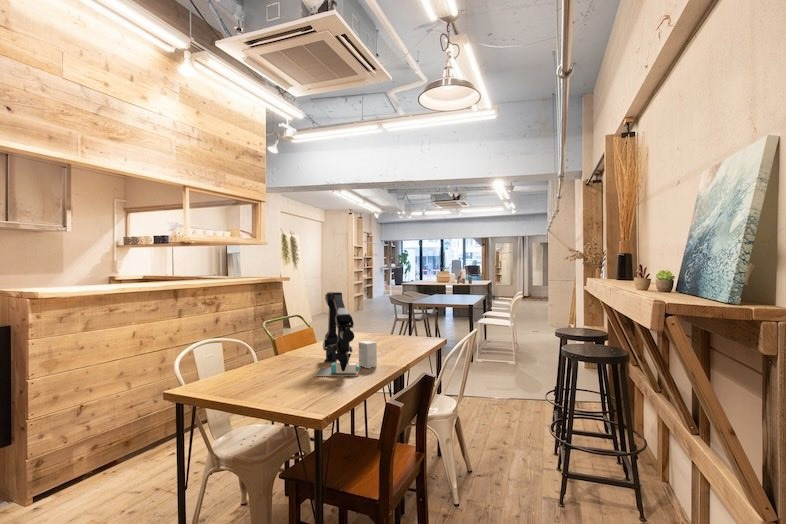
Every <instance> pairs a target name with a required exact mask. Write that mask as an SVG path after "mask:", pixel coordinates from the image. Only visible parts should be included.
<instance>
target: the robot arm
mask: <svg viewBox="0 0 786 524" xmlns="http://www.w3.org/2000/svg"><path fill="white" fill-rule="evenodd" d="M324 296H325V297H324V299H325V300H324V301H325V302H326V305H327V306H328V321H327V322H328V323H327V325H328V326H327V327H328V328H327V332H326V334H325V335H324V339H323V343H322V350H323V351H325V359H324V362H337V361H338V363H340V365H341V369H342V371H345V368H346V365H347V363H349V361H350V359H351V356H352V353H353V346H351V345H350V343H351V342H352V341H353V340H354V339H355V333H354V332H353V330H351V329H353V328H354V325H355V324H354V320H353V317H352V315H351V314H350V311H349V310H348V309H346V307H345V306H346V305H345V304H344V300H343V293H342V291H328V292H327V293H325V295H324ZM349 352H350V353H349ZM336 360H337V361H336Z"/></svg>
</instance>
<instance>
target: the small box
mask: <svg viewBox="0 0 786 524" xmlns="http://www.w3.org/2000/svg"><path fill="white" fill-rule="evenodd" d="M377 350H378V348H377V342H375V341H371V340H364V341H358V366H362V367H361V368H363V367H365V368H364V369H366V368H369V369H372V368H371V367H374V368H376V367H375V366H377V367H378V362H377V361H378V360H377V357H378V355H377V354H378V353H377Z"/></svg>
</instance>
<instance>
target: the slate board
mask: <svg viewBox="0 0 786 524" xmlns="http://www.w3.org/2000/svg"><path fill="white" fill-rule="evenodd" d="M360 372H361V369H360V370H356V373H331V366H330V367H323V366H322V367H321V366H320V367H319V368H318V369H317V371H316V372H315V373H314V375H313V377H314V378H318V377H317V376H323V377H322V378H327V377H326V376H357V375H359V374H360ZM358 373H359V374H358ZM324 376H325V377H324ZM357 377H358V376H357Z"/></svg>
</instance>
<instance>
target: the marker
mask: <svg viewBox="0 0 786 524" xmlns="http://www.w3.org/2000/svg"><path fill="white" fill-rule="evenodd" d="M330 367H331V373H356V370H360V371H361V367H360V366H359V365H357V362H348V363H347V365H346V368H345V371H342V369H341V365H340V362H332V363H331V365H330Z"/></svg>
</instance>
